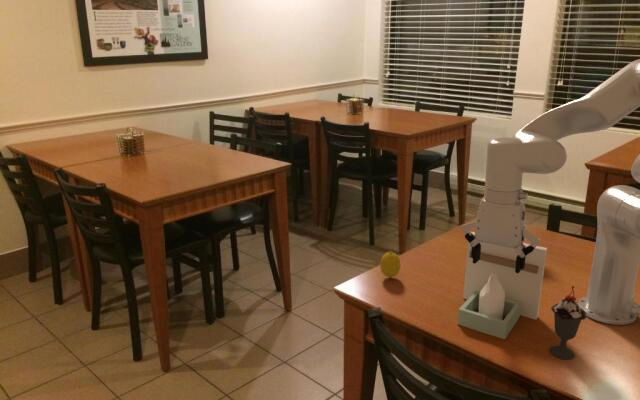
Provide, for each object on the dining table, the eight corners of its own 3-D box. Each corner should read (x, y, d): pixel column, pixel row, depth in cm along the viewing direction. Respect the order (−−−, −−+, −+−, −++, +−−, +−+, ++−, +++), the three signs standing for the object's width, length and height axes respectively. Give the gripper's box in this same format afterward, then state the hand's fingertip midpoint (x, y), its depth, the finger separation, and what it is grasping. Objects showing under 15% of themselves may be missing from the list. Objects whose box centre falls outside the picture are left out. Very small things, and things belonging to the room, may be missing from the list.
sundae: (569, 343, 115) (579, 282, 110) (585, 361, 109) (596, 297, 104) (539, 344, 115) (548, 282, 110) (553, 362, 108) (563, 298, 104)
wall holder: (537, 317, 125) (547, 248, 120) (520, 344, 115) (530, 270, 109) (465, 296, 135) (470, 231, 130) (443, 319, 125) (448, 250, 119)
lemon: (384, 283, 142) (385, 256, 140) (377, 274, 147) (377, 248, 145) (403, 281, 144) (404, 254, 141) (395, 272, 149) (396, 246, 146)
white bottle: (500, 284, 116) (476, 276, 120) (495, 330, 120) (472, 322, 124) (511, 274, 120) (488, 267, 124) (506, 320, 124) (484, 312, 128)
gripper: (548, 196, 112) (541, 268, 117) (470, 185, 122) (466, 252, 127) (539, 206, 106) (531, 281, 112) (457, 193, 116) (454, 263, 121)
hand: (497, 266), depth 119 cm, fingers open, 9 cm apart
